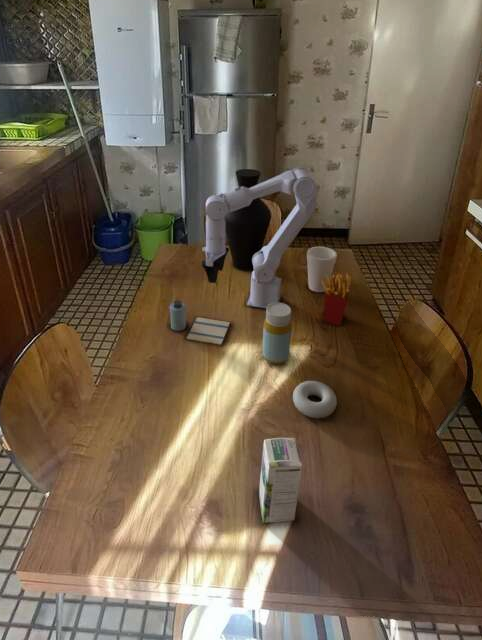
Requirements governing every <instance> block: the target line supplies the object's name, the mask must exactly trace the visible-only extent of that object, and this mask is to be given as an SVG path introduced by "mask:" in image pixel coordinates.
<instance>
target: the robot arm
mask: <svg viewBox="0 0 482 640" xmlns="http://www.w3.org/2000/svg"><path fill="white" fill-rule="evenodd" d="M278 192H281V193H284V194H287V195H290V196H291V195H292V192H293V194H294V197H295V201H296V203H295V204H296V205H294V207H293V208H292V210H291V211H290V212H289V214H288V216H287V217H286V219H285V220H284V221H283V223H282V224H281V226H280V227H279V228H278V230H277V231H276V233H275V234H274V235H273V236H272V238H271V240H270V241H269V242H268V244H267V245H263V246H262V249H261V250H260V251H259V252H257V253H256V254H254V256H253V257H252V264H253V267H254V269H253V271H252V272H251V275H250V295H249V297H248V300H247V302H246V306H248V307H254V308H261V309H267V306H268V305H269V304H271V303H280V301H281V296H282V295H281V290H282V278H281V277H278V276H276V272H277V270H278V268H279V267H280V263H281V258H282V256H283V255H284V253H285V252H286V250H287V249H288V248H289V247H290V246H291V244H292V242H293V241H294V240H295V238H296V237H297V236H298V234H299V232H300V231H301V230H302V228H303V227H304V226H305V224H306V223H307V222H308V220H309V219H310V218H311V216H312V215H313V214H314V212H315V211H316V207H317V199H318V197H317V196H318V193H319V189H318V186H317V183H316V181H315V180H314V179H313V177H312V176H311V174H310V173H309V171H308V169H306V168H304V167H300V166H299V167H295V168H293V169H292V170H291V169H290V170H289V169H288V170H286V171H284V172H282V173H280V174H278V175H276V176H274V177H271V178H270V179H267V180H265V181H263V182H260V183H258V184H257V185H255V186H253V187H251V188H246V187H244V186H242V187H239V186H238V185H236V186H234V188H233V189H232V190H229V191H227V192H224V193H222V192H219V193H218V194H213V195H210V196H209V197H208V198H207V199H206V201H205V204H204V205H205V214H206V215H205V218H206V221H205V246H203V247H202V249H201V250H202V252H204V253H205V257H206V259H203V260H202V262H201V267H202V268H203V270H204V271H205V274H206V277H207V280H208V283H211V284H216V283H217V280H218V275H219V272H222V271H223V269H224V265H225V261H226V258H227V255H228V252H230V248H229V247H227V246H226V232H225V229H226V222H225V216H226V214H227V213H230V212H233V211H235V210H238V209H241V208H243V207H246V206H249V205H250V204H251V202H252V200H253V199H256V198H259V197H260V198H263V197H265V196H269V195H272V194H275V193H278Z"/></svg>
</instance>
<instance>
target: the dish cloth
mask: <svg viewBox="0 0 482 640" xmlns="http://www.w3.org/2000/svg"><path fill="white" fill-rule="evenodd" d="M230 324H231V322H230V321H224V320H219V319H218V320H217V319H211V318H205V317H200V316H199V317H198V316H197V317H196V318H195V321H194V322H193V324H192V327H191V329H189V330H190V331H189V332H188V335H187V336H186V340H190V341H195V342H196V341H197V342H203V343H208V344H215V345H221V346H222V345H223V342H224V339H225V337H226V334H227V332H228V330H229V327H230Z"/></svg>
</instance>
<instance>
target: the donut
mask: <svg viewBox="0 0 482 640" xmlns="http://www.w3.org/2000/svg"><path fill="white" fill-rule="evenodd" d="M311 396H312V397H313V396H314V397H317V398H319V399H320V400H321V401H312V400H311V399H309V398H308V397H311ZM292 401H293V404H294V407H295V408H296V409H297V410H298V412H300V413H301V414H302V415H304V416H305V417H309V418H311V419H312V418H313V419H325V418H327V417H329V416H330V415H332V414H333V413H335V410H336V407H337V406H338V405H337V404H338V402H337V396H336V394H335V392H334V390H333V389H332V388H331V387H330V386H328V385H327V384H326V383H323V382H321V381H316V380H305V381H303V382H300V383H299V384H298V385H297V386H296V387H295V388H294V390H293V393H292Z"/></svg>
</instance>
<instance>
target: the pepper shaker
mask: <svg viewBox="0 0 482 640" xmlns="http://www.w3.org/2000/svg"><path fill="white" fill-rule="evenodd" d="M186 308H187V307H186V303H184V302H182V301H181V300H179V299H176V300H173V302H172V303H170V305H169V315H170V319H169V320H170V328H171V330H173V331H177V332H180V331H183V330H185V329H186V328H187V313H186V311H187V309H186Z"/></svg>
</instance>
